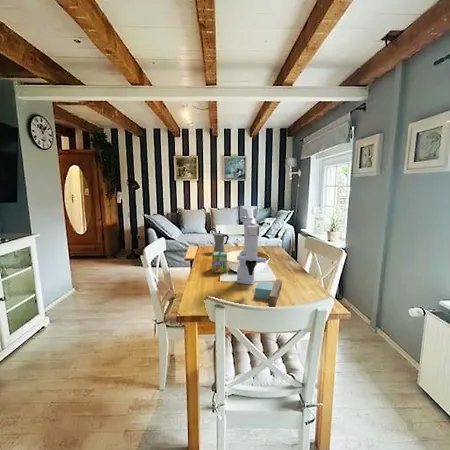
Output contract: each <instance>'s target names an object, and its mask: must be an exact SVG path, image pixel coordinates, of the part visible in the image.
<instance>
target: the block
mask: <svg viewBox="0 0 450 450" xmlns="http://www.w3.org/2000/svg"><path fill="white" fill-rule="evenodd" d="M274 283H275V282H274ZM274 283H273V282H265V281H258V282H257V285H256V286H255V287H254V298H258V299H265V300H269V295H270V293H271V291H272V288H273V286H274Z"/></svg>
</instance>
